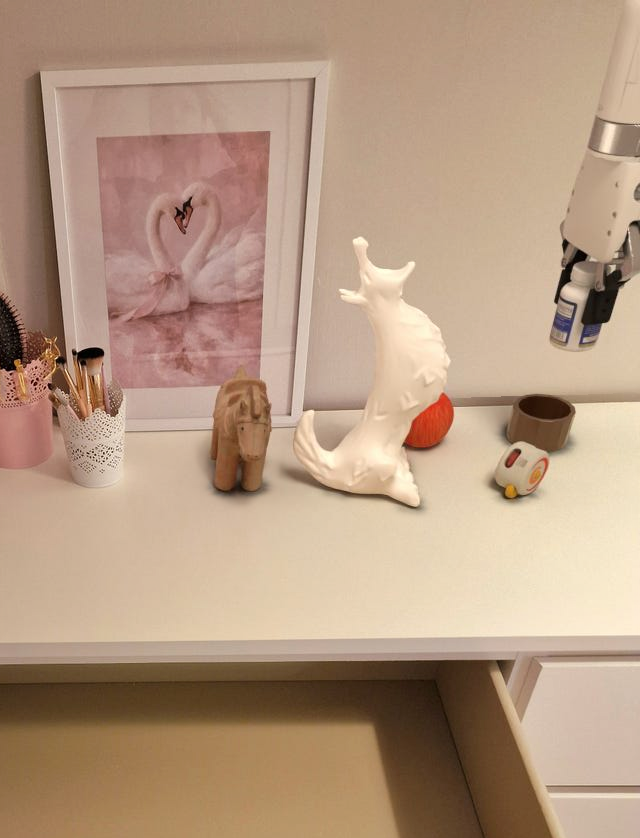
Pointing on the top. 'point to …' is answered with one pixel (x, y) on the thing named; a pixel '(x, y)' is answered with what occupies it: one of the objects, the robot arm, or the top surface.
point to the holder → (541, 421)
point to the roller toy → (521, 469)
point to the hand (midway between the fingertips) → (580, 311)
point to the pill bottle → (575, 311)
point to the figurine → (240, 431)
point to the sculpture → (382, 391)
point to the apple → (431, 424)
